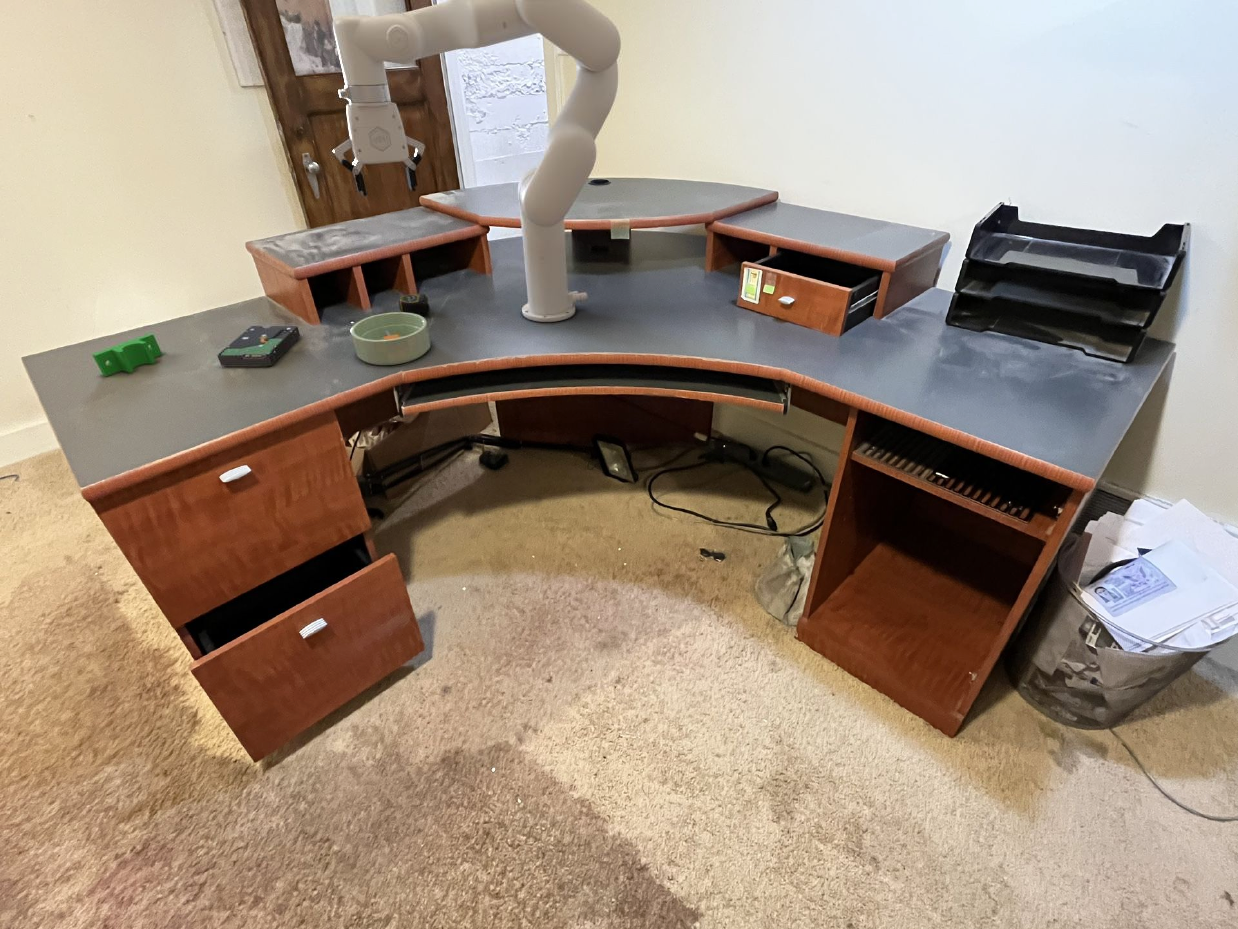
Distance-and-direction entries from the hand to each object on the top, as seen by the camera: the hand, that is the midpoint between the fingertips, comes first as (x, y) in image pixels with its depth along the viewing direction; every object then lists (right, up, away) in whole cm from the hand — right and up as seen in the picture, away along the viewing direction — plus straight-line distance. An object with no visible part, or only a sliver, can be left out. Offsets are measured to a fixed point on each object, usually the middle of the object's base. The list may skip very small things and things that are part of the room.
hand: (388, 192), depth 127 cm
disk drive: (-28, -32, +4) cm, 43 cm away
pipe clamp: (-51, -36, -1) cm, 62 cm away
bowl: (0, -32, +5) cm, 32 cm away
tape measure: (-1, -20, +22) cm, 29 cm away
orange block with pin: (-1, -31, +4) cm, 31 cm away
